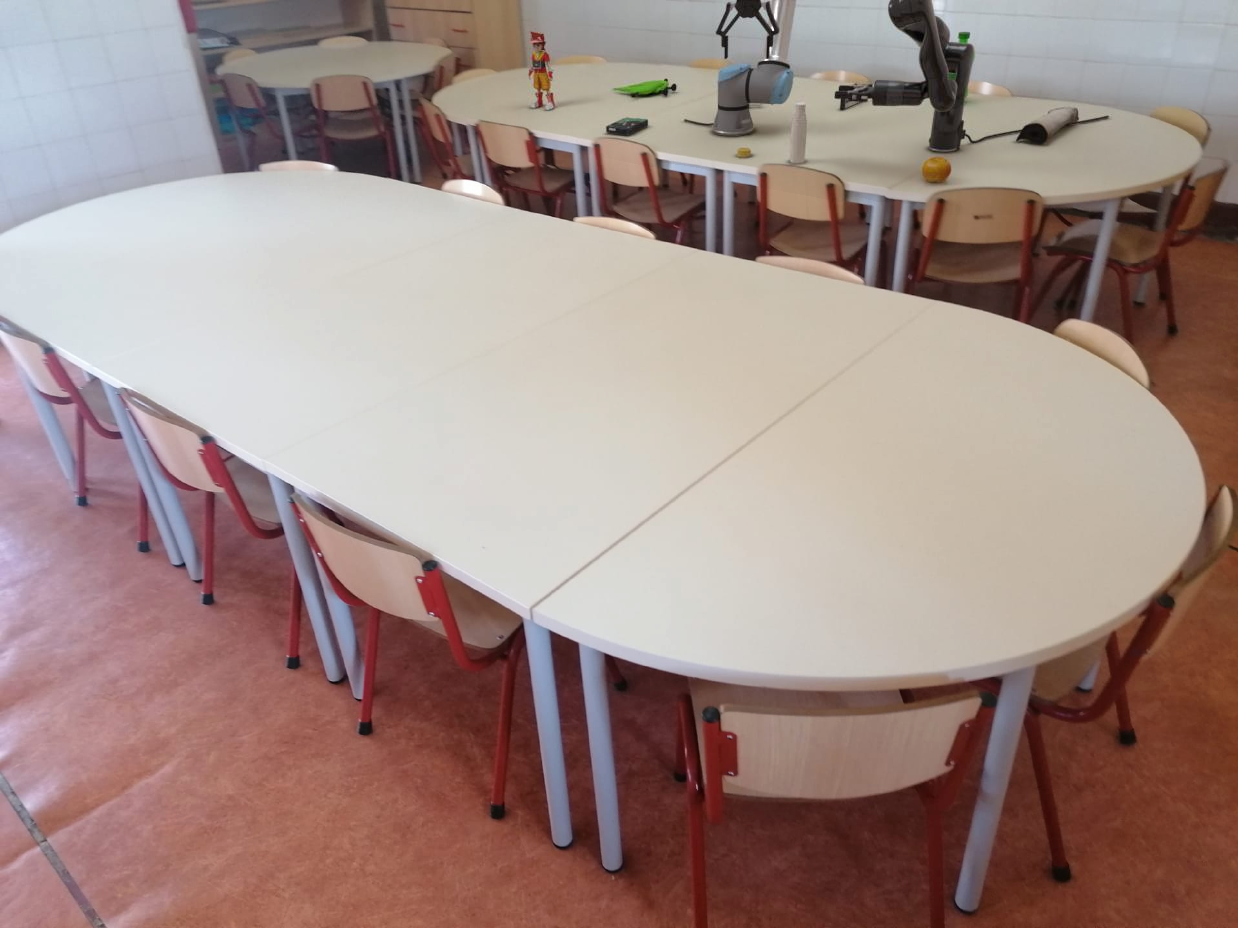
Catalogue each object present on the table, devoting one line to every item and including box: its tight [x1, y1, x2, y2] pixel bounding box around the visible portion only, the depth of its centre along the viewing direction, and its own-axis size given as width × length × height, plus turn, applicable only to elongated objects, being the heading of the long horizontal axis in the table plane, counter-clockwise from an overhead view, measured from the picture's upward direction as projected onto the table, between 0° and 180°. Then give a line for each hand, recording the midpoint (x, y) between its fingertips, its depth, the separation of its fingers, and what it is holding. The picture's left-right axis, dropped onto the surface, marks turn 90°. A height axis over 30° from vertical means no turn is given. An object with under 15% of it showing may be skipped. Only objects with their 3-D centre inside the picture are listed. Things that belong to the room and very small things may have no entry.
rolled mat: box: [1015, 106, 1080, 145], centre depth 311 cm, size 30×9×10 cm
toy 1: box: [527, 31, 556, 111], centre depth 374 cm, size 12×9×30 cm
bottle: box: [789, 102, 808, 164], centre depth 297 cm, size 5×5×19 cm
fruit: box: [921, 156, 952, 183], centre depth 276 cm, size 8×8×8 cm
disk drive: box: [605, 116, 649, 136], centre depth 345 cm, size 10×3×15 cm
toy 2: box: [612, 78, 677, 99], centre depth 396 cm, size 28×5×30 cm
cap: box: [736, 147, 752, 159], centre depth 310 cm, size 4×4×2 cm
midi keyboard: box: [839, 95, 860, 111], centre depth 358 cm, size 18×1×5 cm, turn 138°
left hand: (746, 58), depth 293 cm, fingers open, 13 cm apart
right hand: (836, 92), depth 286 cm, fingers open, 8 cm apart
